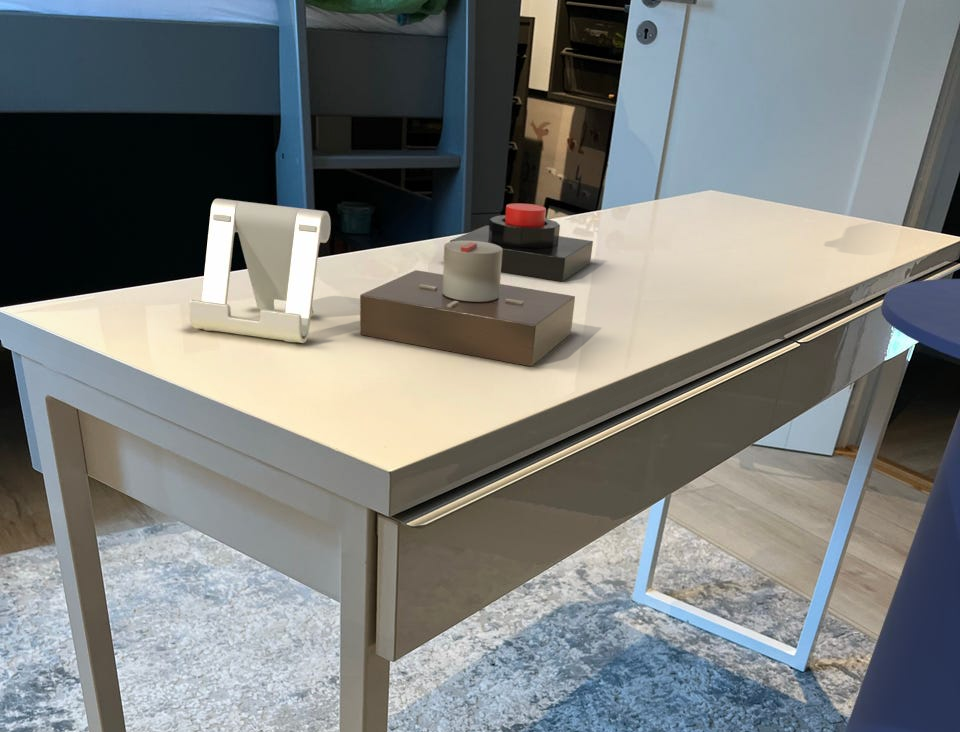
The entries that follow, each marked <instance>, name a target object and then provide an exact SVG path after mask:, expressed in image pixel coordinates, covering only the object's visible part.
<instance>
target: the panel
mask: <svg viewBox="0 0 960 732" xmlns="http://www.w3.org/2000/svg"><path fill="white" fill-rule="evenodd" d="M442 289H443V273H435V272H429V271H423V270H417V269H415V270H413V271H411V272H408V273H406V274H404V275H402V276H399V277H397V278H394V279H393V280H390V281H388V282H386V283H384V284H381V285H379V286H377V287H375V288H373V289H369V290H368V291H366V292H364V293H361V294H360V295H359V315H360V317H359V324H360V325H359V332H360V335H362V336H366V337H372V338H376V339H383V340H387V341H393V342H399V343H402V344H403V343H405V344H410V345H415V346H420V347H425V348H431V349H436V350H442V351H446V352H447V351H448V352H452V353H457V354H462V355H463V354H464V355H468V356H474V357H478V358H484V359H490V360H496V361H501V362H505V363H509V364H510V363H511V364H516V365H523V366H527V367H533V366H534V365H535V364H536V363H537V362H538V361H540V360H541V359H542V358H543V357H544V356H546V355H547V354H549V352H551V351H552V350H553V349H554V348H555V347H557V346H558V345H559V344H561V342H562V341H564V340H565V339H566V338H568V337H569V336H570V335H571V334H572V327H573V319H574V318H573V317H574V311H575V300H576V296H575V295H569V294H564V293H558V292H557V293H556V292H553V291H552V292H551V291H545V290H539V289H533V288H527V287H520V286H516V285H509V284H503V283H500V291H499V297H498V298H497V299H496V300H492V301H486V302H468V301H461V300H456V299H452V298H449V297H447V296H445V295H444V294H443V293H442Z"/></svg>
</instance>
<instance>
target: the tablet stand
mask: <svg viewBox="0 0 960 732" xmlns="http://www.w3.org/2000/svg"><path fill="white" fill-rule="evenodd" d="M209 215H210V216H209V225H208V232H207V233H208V234H207V245H206V252H205V253H206V254H205V263H204V275H203V281H202V284H203V285H202V294H201V300H198V299H190V300H189V302H188V307H189V308H188V311H189V312H188V313H189V315H188V316H189V321H190V325H191V327H192V328H194V329H200V330H204V331H209V332H222V333H227V334H229V333H230V334H234V335H235V334H236V335H242V336H250V337H256V338H257V337H258V338H264V339H272V340H279V341H284V342H287V343H300V344H304V343H306V342H307V340H308V338H309V334H310V327H311V326H310V325H311V317H313V316H314V312H315V311H314V308H313V299H314V294H315V293H314V292H315V284H316V275H317V268H318V267H317V266H318V259H319V258H318V257H319V252H320V251H319V250H320V245H321V243H323V244H325V243H327V242H328V241H329V238H330V235H331V229H332V228H331V225H332V223H331V222H332V221H331V216H330V214H329V212H328V211H326V210H320V209H319V210H318V209H310V208H309V209H308V208H300V207H294V206H293V207H292V206H284V205H274V204H268V203H258V202H252V201H251V202H250V201H249V202H248V201H242V200H233V199H225V198H215V199H214V200H213V201H212V203H211V207H210V214H209ZM235 233H237V234H238V238H239V241H240V246H241V250H242V253H243V257H244V262H245V264H246V269H247V273H248V277H249V280H250V285H251V288H252V292H253V295H254V300H255V304H256V307H257V308H258V310H260V311H259V318H251V317H244V316H236V315H232V311H231V306H230V305H229V304H228V296H229V288H230V287H229V285H230V277H231V270H232V269H231V267H232V258H233V248H234V241H235V240H234V239H235ZM276 300H278V301H284V302H285V301H286V302H285V311H279V310H275V301H276Z"/></svg>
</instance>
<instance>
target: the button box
mask: <svg viewBox="0 0 960 732" xmlns="http://www.w3.org/2000/svg"><path fill="white" fill-rule="evenodd" d="M505 215H506V214H501V215H495V216H493V217H491V218H489V223H488V224H489V225H488V224H487V225H484V226H482V227H479V228H477V229H474V230H472V231H470V232H467V233H465V234H462V235H460V236H457V237H455V238H453V239H450V240H449V242H452V241H480V242H486V243H491V244H495V245H498V246H500V247H501V248H502V249H503V252H502V265H501V273H507V274H513V275H519V276H526V277H533V278H537V279H543V280H550V281H555V282H564V281H565V280H567V279H568V278H569V277H571V276H573V275H574V274H576V273H577V272H579V271H580V270H582V269H584V268H585V267H587V266H588V265H589V264H591V260H592V253H593V245H594V241H593V240H589V239H581V238H575V237H568V236H560V231H561V230H560V229H561V224H560V223H558V222H557V221H556V220H552V219H549V218H545V225H544V226H520V225H513V224H509V223H506V222H505Z"/></svg>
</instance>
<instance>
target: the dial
mask: <svg viewBox="0 0 960 732" xmlns="http://www.w3.org/2000/svg"><path fill="white" fill-rule="evenodd" d="M502 252H503V249H502V248H501V247H500V246H498V245H495V244H491V243H486V242H480V241H452V242H450V241H449V242H446V243H445V244H444V246H443V266H442V268H443V269H442V275H443V289H442V293H443V294H444V295H445V296H447V297H449V298H452V299H456V300H461V301H468V302H486V301H492V300H496V299H497V298H498V297H499V291H500V284H501V279H502V277H501V275H502V272H501V265H502Z"/></svg>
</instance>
